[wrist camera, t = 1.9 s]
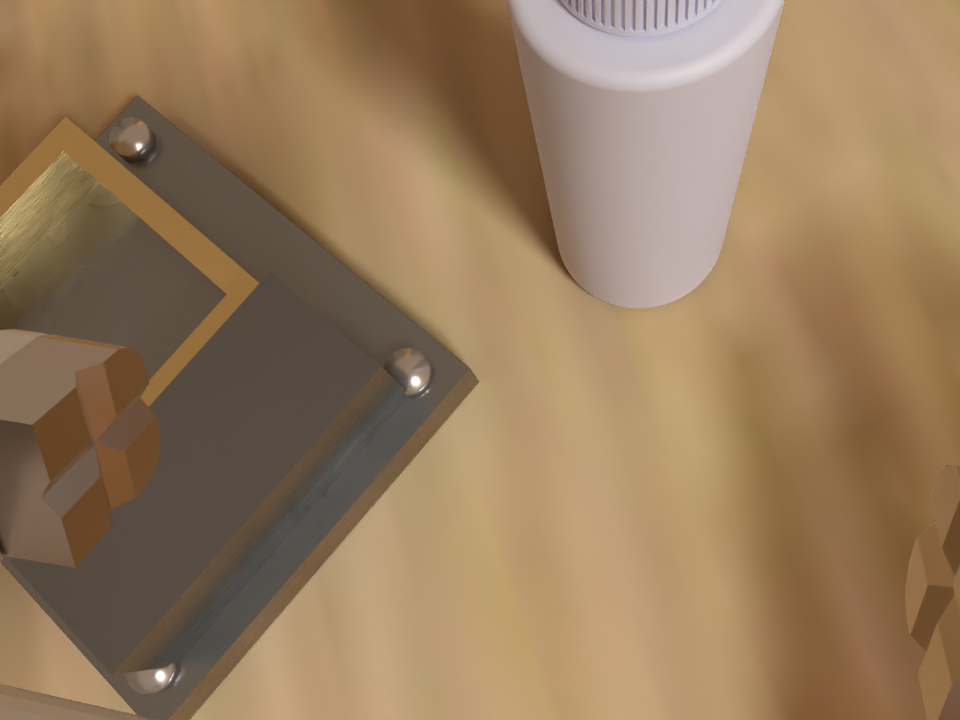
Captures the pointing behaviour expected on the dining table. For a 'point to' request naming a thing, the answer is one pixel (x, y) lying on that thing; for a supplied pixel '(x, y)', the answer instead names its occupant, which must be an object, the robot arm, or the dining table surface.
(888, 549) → the dining table surface
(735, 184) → the spray bottle
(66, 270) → the grey plate with frame
